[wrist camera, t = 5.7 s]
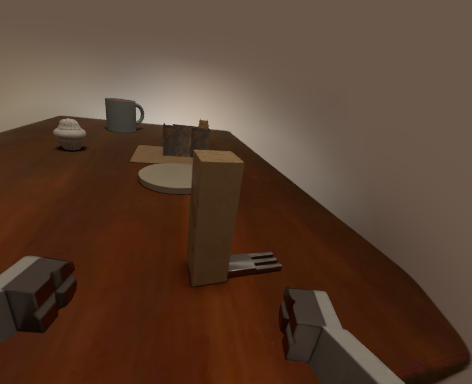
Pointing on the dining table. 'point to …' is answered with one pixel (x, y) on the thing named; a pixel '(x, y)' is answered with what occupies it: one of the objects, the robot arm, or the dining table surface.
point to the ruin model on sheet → (175, 145)
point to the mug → (122, 115)
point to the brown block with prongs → (218, 221)
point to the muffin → (70, 134)
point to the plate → (167, 178)
